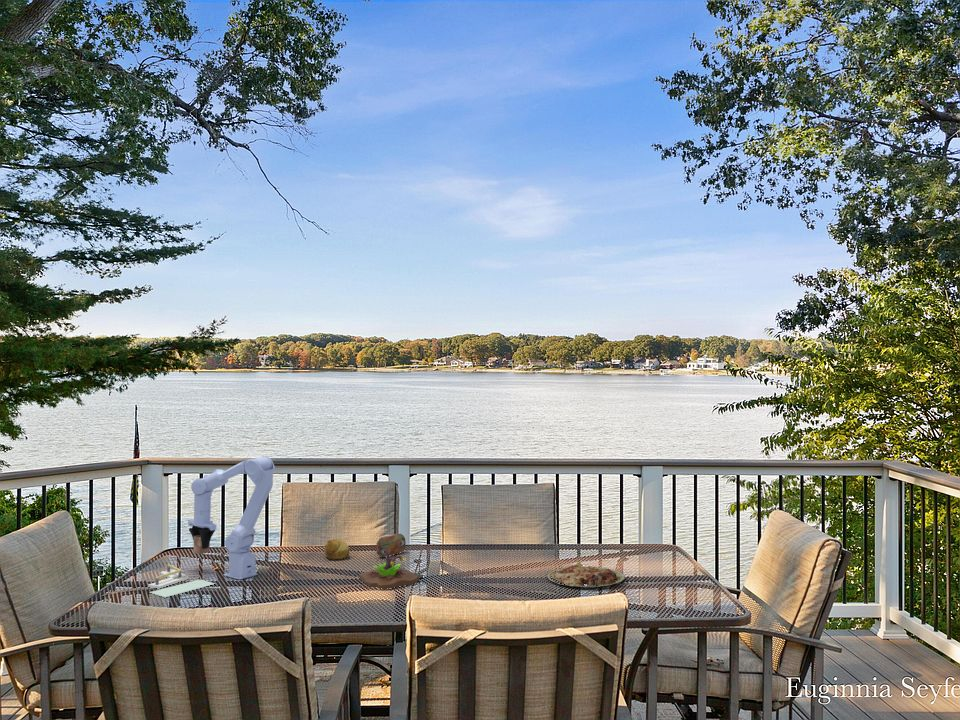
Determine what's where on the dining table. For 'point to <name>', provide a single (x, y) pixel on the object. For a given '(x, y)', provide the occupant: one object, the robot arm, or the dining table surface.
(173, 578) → the wire track
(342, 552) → the bread roll
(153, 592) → the end mat
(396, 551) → the tree canopy
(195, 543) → the rust block
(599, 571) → the rice dish
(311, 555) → the dining table surface
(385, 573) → the plant
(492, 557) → the dining table surface
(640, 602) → the dining table surface
